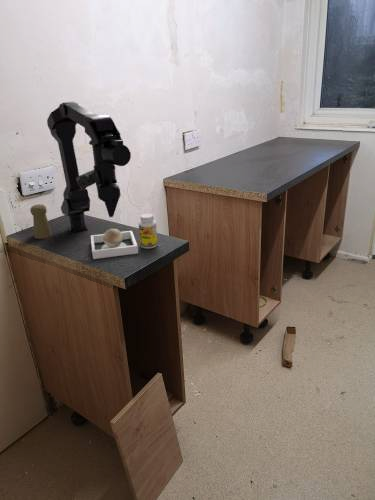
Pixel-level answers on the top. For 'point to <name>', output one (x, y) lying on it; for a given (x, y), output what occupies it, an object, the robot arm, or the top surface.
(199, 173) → the top surface
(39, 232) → the cork
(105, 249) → the white square frame
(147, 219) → the supplement bottle
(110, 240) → the wooden ball
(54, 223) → the top surface
